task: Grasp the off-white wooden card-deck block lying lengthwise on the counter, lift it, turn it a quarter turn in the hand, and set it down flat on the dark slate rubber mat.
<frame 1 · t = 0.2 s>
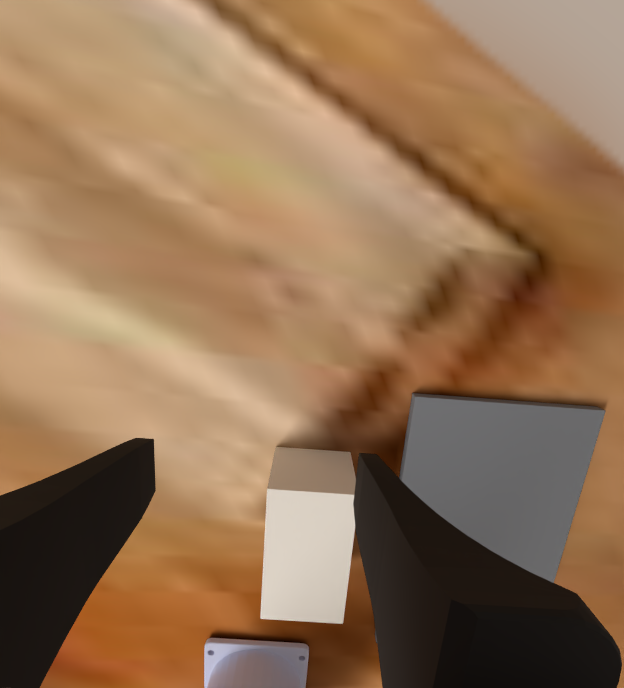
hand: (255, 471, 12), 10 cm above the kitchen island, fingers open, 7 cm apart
mat: (475, 531, 24), on the kitchen island
deck block: (308, 505, 24), on the kitchen island
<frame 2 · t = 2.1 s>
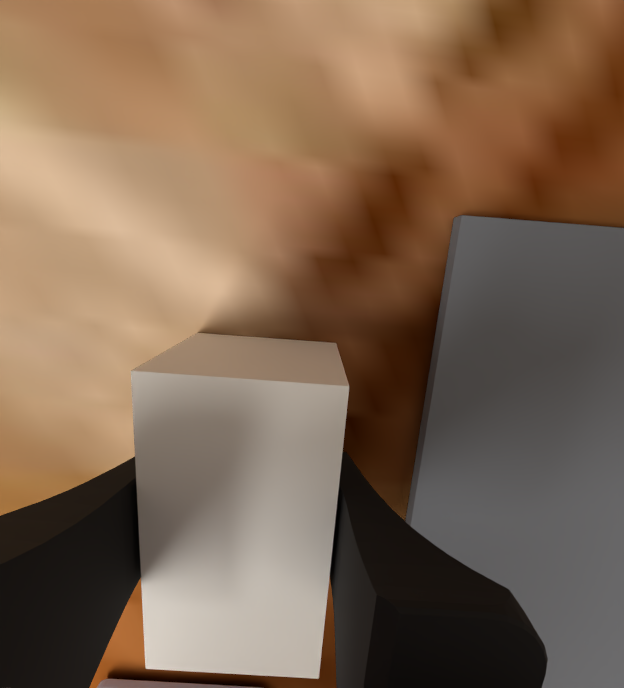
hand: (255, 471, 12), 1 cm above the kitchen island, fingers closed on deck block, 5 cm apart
mat: (560, 493, 13), on the kitchen island
deck block: (261, 450, 13), on the kitchen island, touching gripper
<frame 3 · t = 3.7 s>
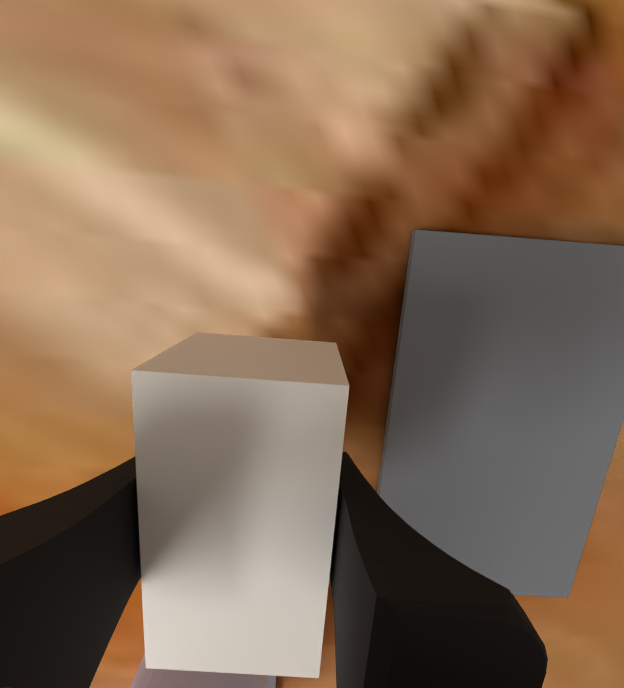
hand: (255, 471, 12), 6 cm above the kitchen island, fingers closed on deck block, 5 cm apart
mat: (496, 433, 18), on the kitchen island
deck block: (261, 450, 13), point 5 cm above the kitchen island, touching gripper
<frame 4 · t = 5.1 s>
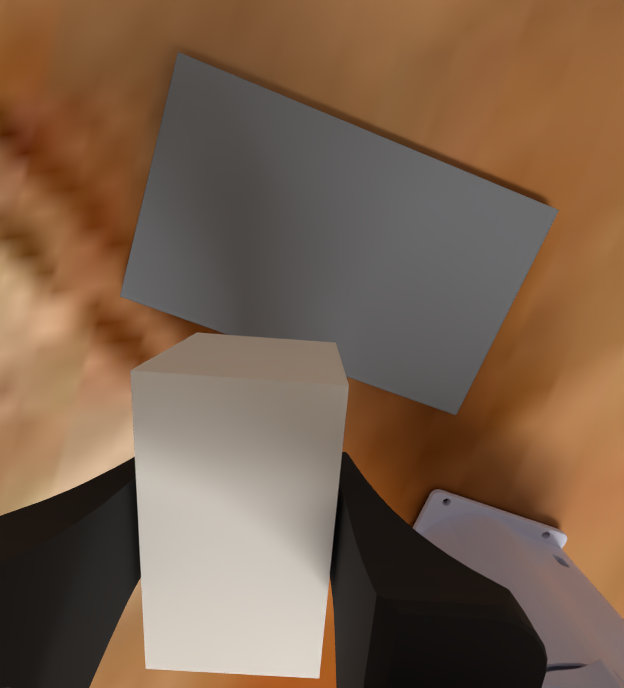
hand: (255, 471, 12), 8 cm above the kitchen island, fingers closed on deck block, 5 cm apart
mat: (332, 254, 18), on the kitchen island
deck block: (261, 450, 13), point 7 cm above the kitchen island, touching gripper
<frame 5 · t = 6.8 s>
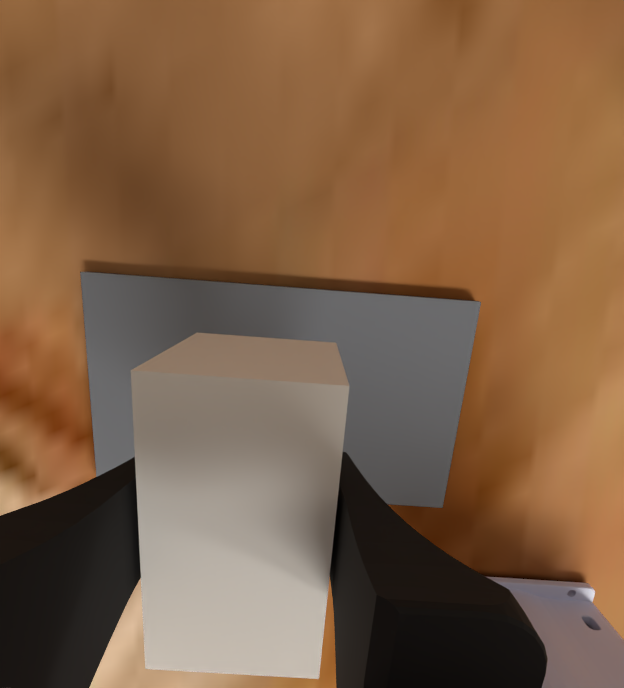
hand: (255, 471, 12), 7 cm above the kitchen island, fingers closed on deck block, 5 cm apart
mat: (277, 395, 19), on the kitchen island
deck block: (261, 450, 13), point 6 cm above the kitchen island, touching gripper
when the fingers open (3 cm above the kitchen island, at t = 8.2 s): deck block stays where it is, resting on mat.
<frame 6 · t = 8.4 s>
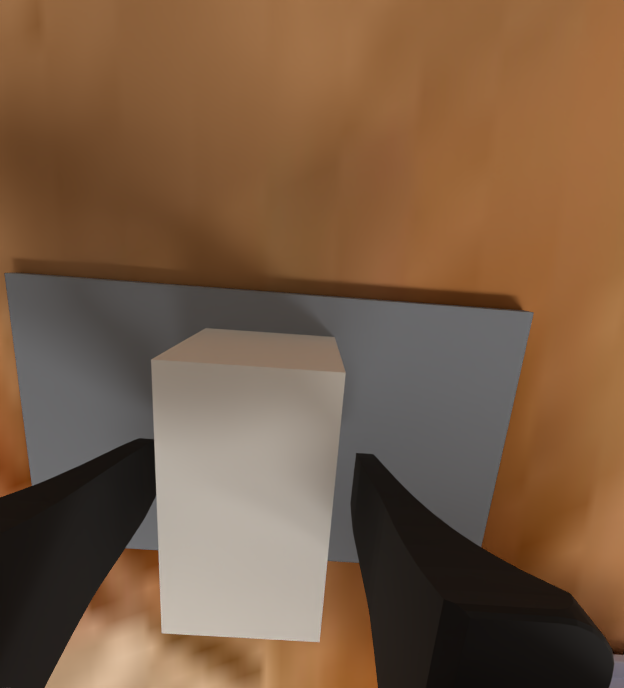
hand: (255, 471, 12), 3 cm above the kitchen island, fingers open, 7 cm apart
mat: (267, 430, 15), on the kitchen island
deck block: (265, 438, 14), point 1 cm above the kitchen island, touching mat
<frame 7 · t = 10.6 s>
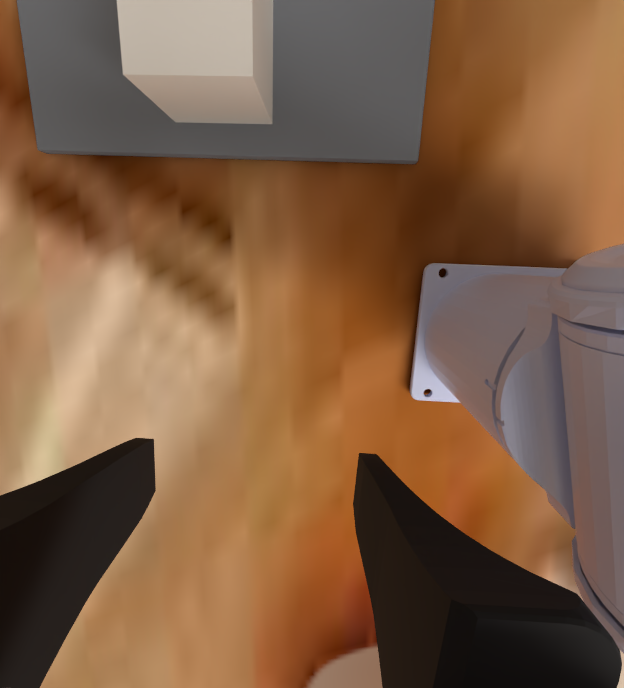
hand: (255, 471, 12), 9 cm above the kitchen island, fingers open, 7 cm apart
mat: (224, 24, 17), on the kitchen island
deck block: (221, 16, 16), point 1 cm above the kitchen island, touching mat
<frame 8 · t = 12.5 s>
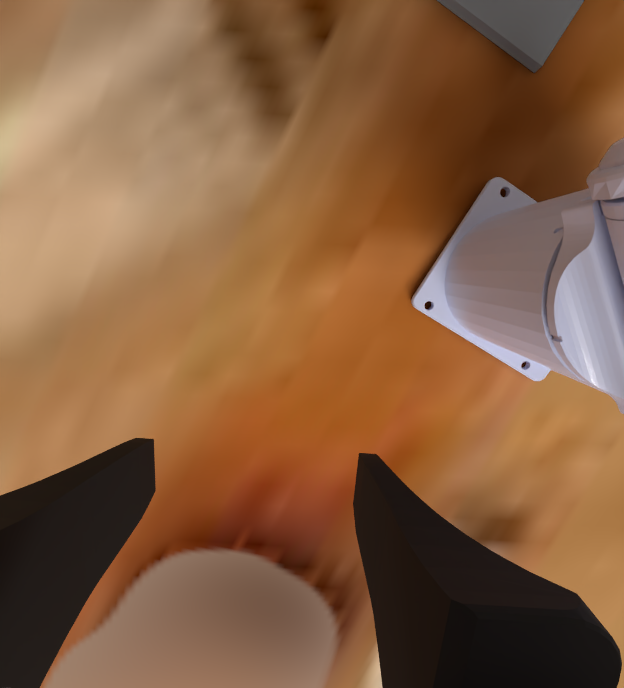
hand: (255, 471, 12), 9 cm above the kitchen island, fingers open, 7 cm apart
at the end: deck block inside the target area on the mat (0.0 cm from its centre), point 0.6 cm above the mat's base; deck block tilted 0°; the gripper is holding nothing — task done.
